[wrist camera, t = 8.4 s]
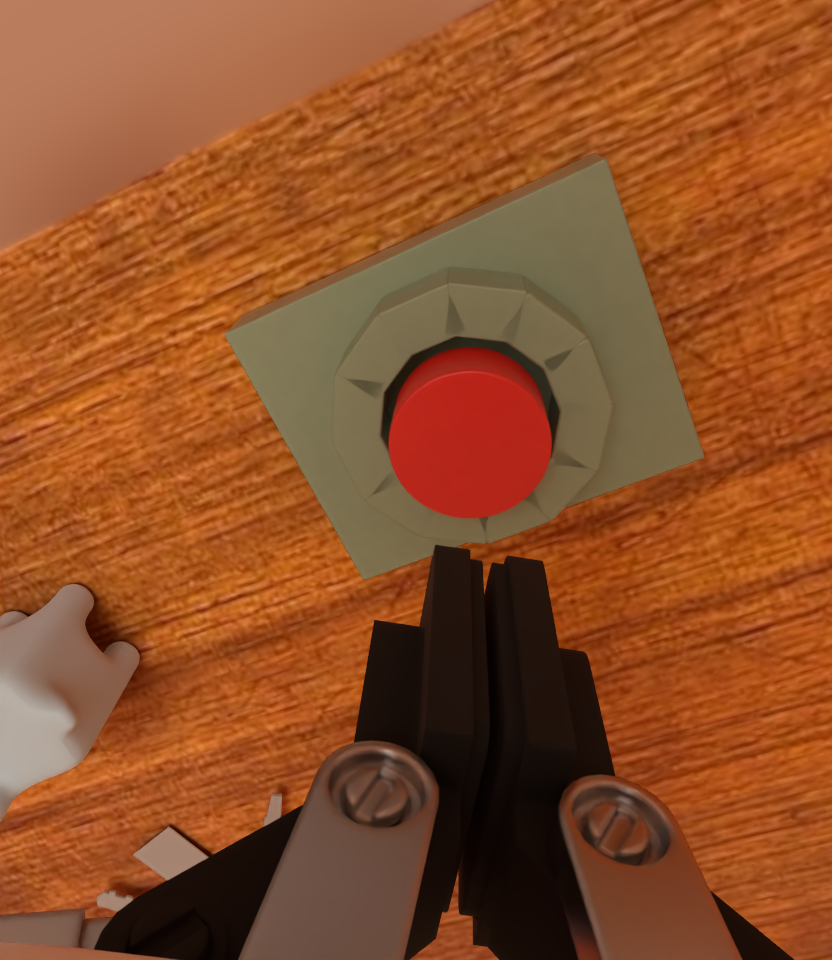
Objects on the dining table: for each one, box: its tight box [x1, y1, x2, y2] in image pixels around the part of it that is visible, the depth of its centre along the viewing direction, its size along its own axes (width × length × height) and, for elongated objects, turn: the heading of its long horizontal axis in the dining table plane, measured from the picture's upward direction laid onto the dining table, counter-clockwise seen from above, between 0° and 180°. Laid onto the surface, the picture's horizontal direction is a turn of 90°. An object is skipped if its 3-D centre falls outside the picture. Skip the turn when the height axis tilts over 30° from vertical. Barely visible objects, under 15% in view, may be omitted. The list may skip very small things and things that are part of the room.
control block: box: [225, 153, 704, 580], centre depth 20 cm, size 10×8×4 cm
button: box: [389, 347, 552, 519], centre depth 18 cm, size 4×4×2 cm
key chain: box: [97, 793, 282, 911], centre depth 32 cm, size 14×8×1 cm, turn 2°
